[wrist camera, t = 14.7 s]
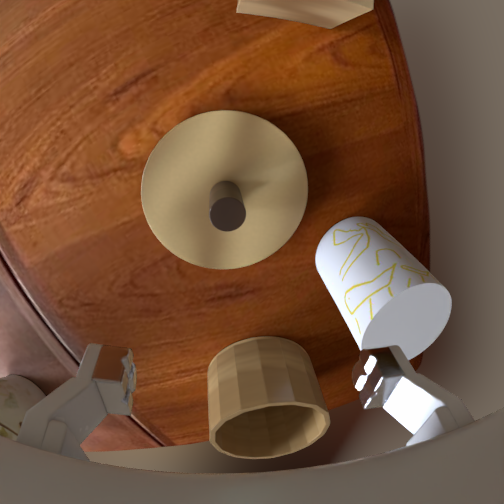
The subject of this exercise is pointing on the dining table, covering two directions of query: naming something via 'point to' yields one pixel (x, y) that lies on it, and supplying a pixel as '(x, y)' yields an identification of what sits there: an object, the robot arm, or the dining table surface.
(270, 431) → the basket
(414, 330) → the white cylinder
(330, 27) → the stand
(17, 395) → the sugar bowl
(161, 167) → the basket lid
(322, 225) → the dining table surface
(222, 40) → the dining table surface
